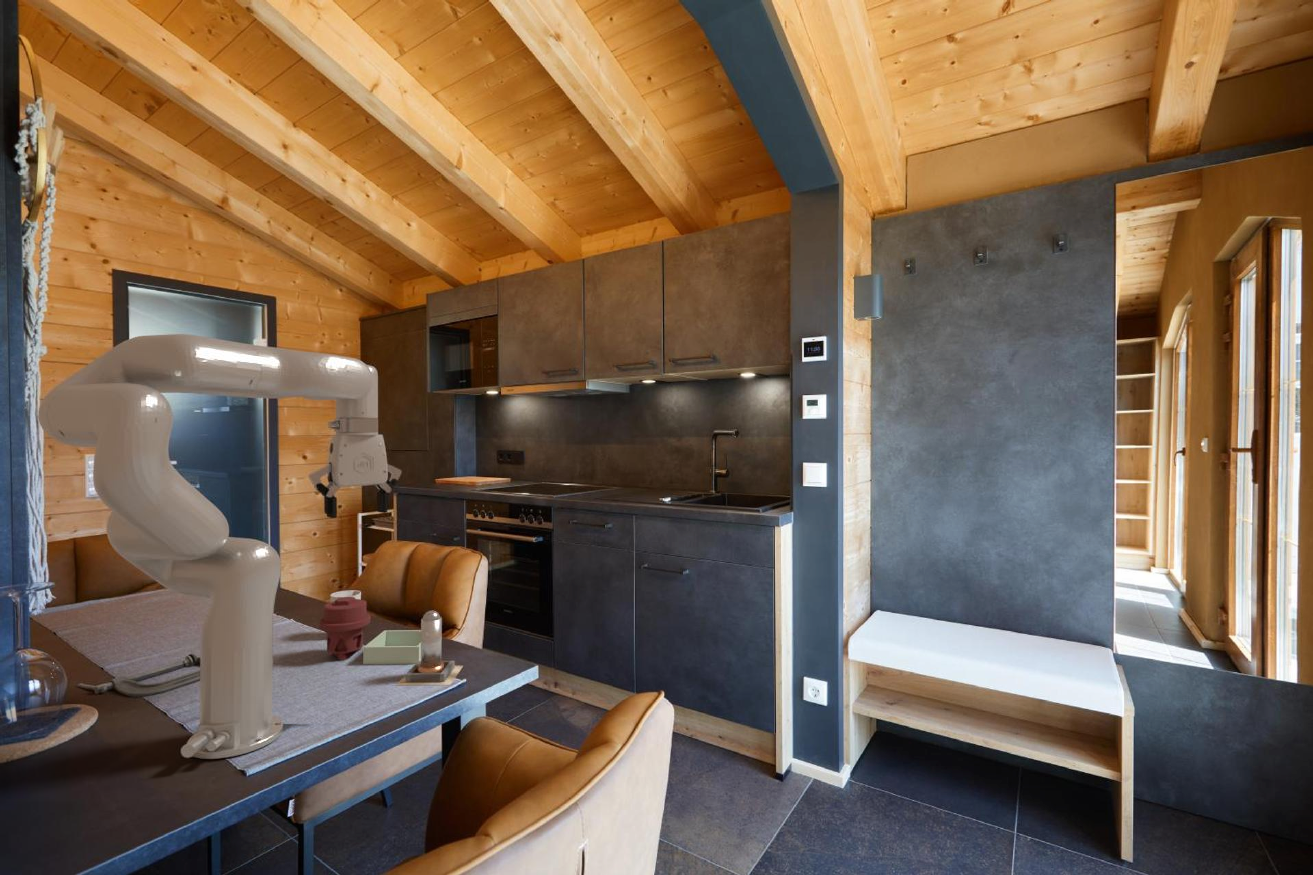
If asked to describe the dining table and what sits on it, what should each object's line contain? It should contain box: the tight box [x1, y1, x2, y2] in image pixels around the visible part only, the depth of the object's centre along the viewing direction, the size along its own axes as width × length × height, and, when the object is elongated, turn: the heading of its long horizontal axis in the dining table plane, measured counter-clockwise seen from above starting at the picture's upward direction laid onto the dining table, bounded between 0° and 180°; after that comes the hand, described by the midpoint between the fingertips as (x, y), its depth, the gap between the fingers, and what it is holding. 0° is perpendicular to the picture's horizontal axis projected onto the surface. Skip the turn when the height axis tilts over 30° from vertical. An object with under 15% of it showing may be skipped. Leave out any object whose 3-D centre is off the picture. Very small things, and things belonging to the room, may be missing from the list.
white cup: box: [330, 589, 362, 602], centre depth 150 cm, size 7×7×10 cm
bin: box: [362, 629, 421, 665], centre depth 134 cm, size 11×11×5 cm
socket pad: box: [395, 660, 464, 687], centre depth 122 cm, size 10×10×3 cm
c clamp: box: [76, 653, 200, 698], centre depth 123 cm, size 20×17×3 cm
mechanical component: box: [318, 597, 371, 661], centre depth 136 cm, size 12×10×10 cm
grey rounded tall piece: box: [418, 610, 444, 673], centre depth 122 cm, size 5×5×13 cm
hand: (357, 514), depth 123 cm, fingers open, 9 cm apart
